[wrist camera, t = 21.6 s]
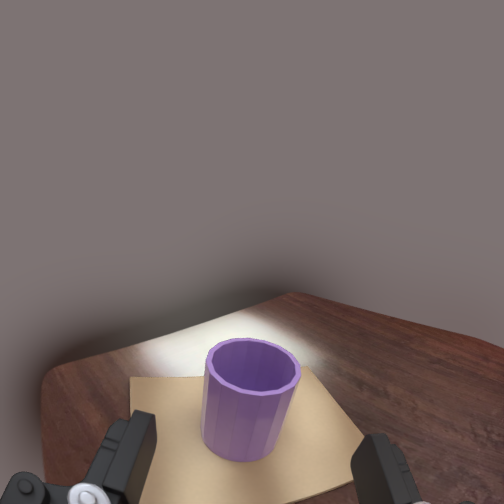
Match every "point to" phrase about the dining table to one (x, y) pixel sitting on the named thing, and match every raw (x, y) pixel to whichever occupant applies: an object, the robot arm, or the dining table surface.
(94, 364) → the dining table surface
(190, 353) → the dining table surface
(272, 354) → the lavender cup
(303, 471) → the mat
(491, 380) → the dining table surface
